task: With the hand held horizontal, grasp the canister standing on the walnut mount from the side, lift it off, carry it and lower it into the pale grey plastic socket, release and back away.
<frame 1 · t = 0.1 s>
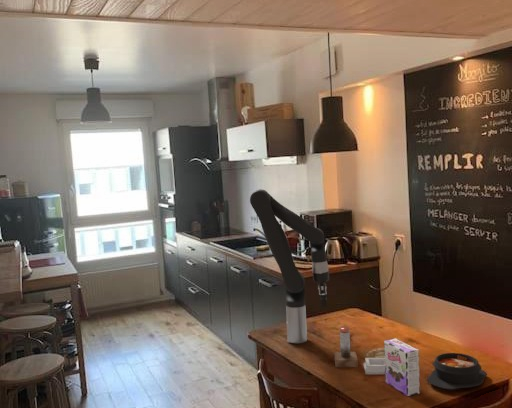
hand: (324, 304, 246), 17 cm above the table, tool pointing down, fingers open, 8 cm apart
socket: (377, 369, 210), on the table
canister: (345, 355, 218), point 3 cm above the table, touching mount
candy box: (402, 388, 193), on the table
mount: (345, 362, 218), on the table
casserole: (457, 382, 195), on the table
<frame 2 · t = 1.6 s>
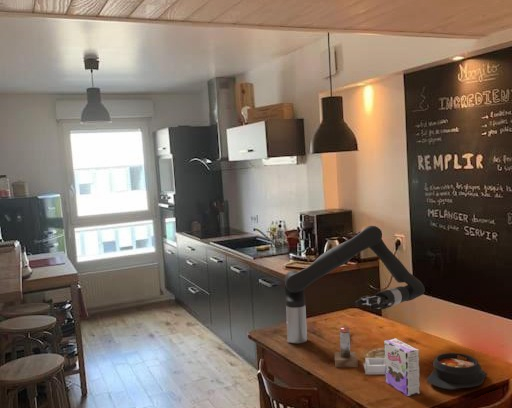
hand: (363, 305, 223), 22 cm above the table, tool horizontal, fingers open, 8 cm apart
nothing on the table moved.
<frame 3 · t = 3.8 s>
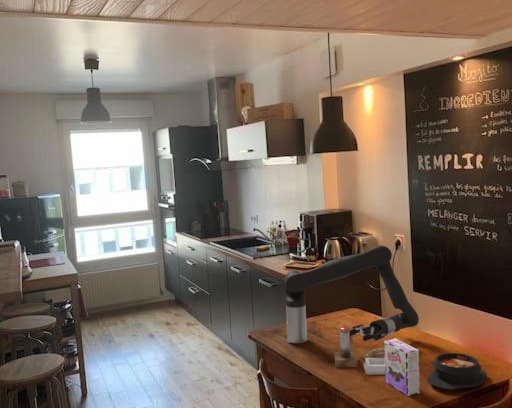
hand: (356, 335, 221), 10 cm above the table, tool horizontal, fingers open, 8 cm apart
nothing on the table moved.
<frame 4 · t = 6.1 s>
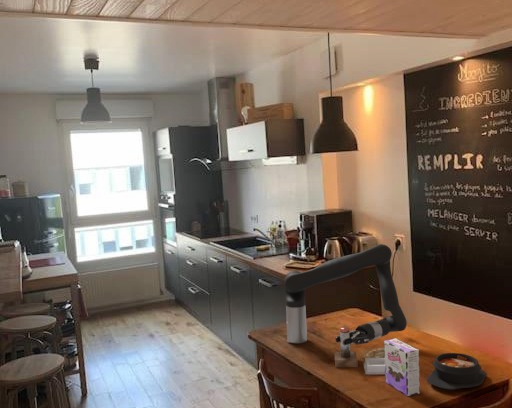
hand: (340, 341, 216), 10 cm above the table, tool horizontal, fingers closed on canister, 4 cm apart
canister: (345, 355, 218), point 3 cm above the table, touching gripper, mount
everything else where it was.
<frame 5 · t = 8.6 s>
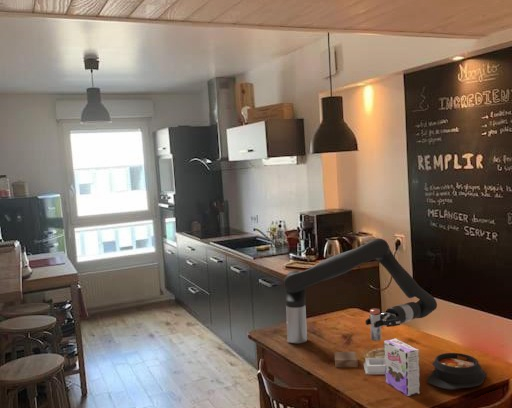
hand: (370, 323, 207), 20 cm above the table, tool horizontal, fingers closed on canister, 4 cm apart
canister: (376, 339, 209), point 13 cm above the table, touching gripper
everything else where it was.
when the fingers open (9 cm above the table, at t = 11.2 s): canister drops 1 cm, resting on socket.
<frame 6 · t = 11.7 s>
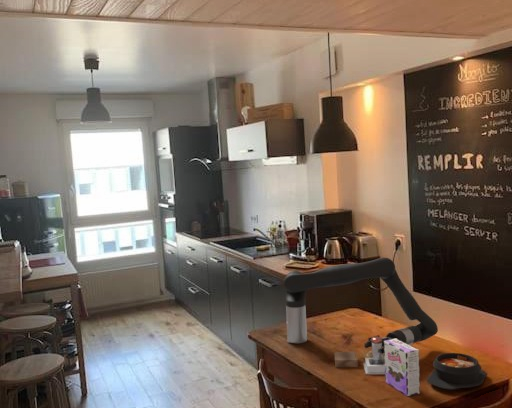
hand: (372, 348, 208), 9 cm above the table, tool horizontal, fingers open, 8 cm apart
canister: (377, 367, 210), point 1 cm above the table, touching socket
everything else where it was.
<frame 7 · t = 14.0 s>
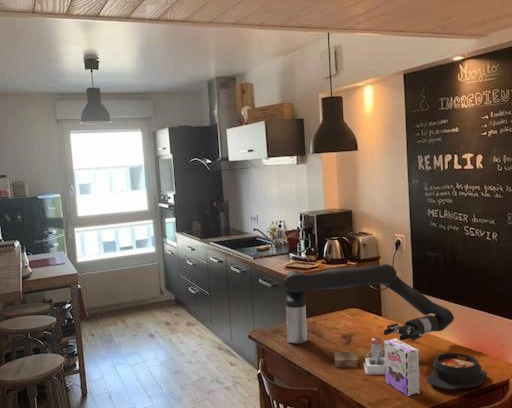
hand: (392, 335, 216), 11 cm above the table, tool horizontal, fingers open, 8 cm apart
nothing on the table moved.
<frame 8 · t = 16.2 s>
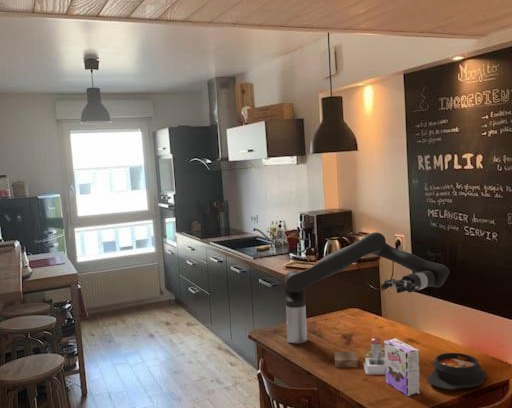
hand: (389, 288, 218), 30 cm above the table, tool horizontal, fingers open, 8 cm apart
nothing on the table moved.
at the end: canister 0.1 cm off-centre on the socket, point 0.6 cm above the socket's base; canister tilted 1°; the gripper is holding nothing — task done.
